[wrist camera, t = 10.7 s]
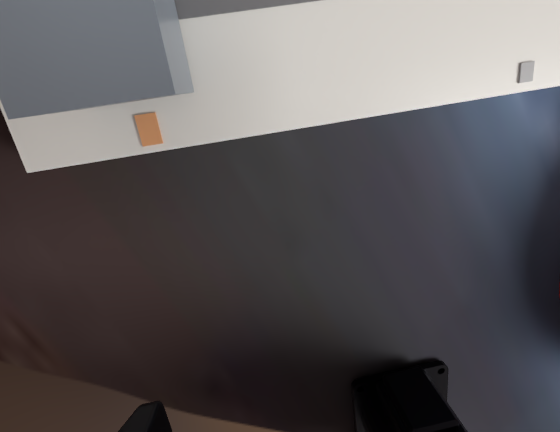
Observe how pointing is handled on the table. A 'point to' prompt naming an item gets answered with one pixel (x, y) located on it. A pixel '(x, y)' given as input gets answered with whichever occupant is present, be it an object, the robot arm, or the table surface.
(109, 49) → the fader tab
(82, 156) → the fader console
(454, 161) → the table surface
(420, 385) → the robot arm
